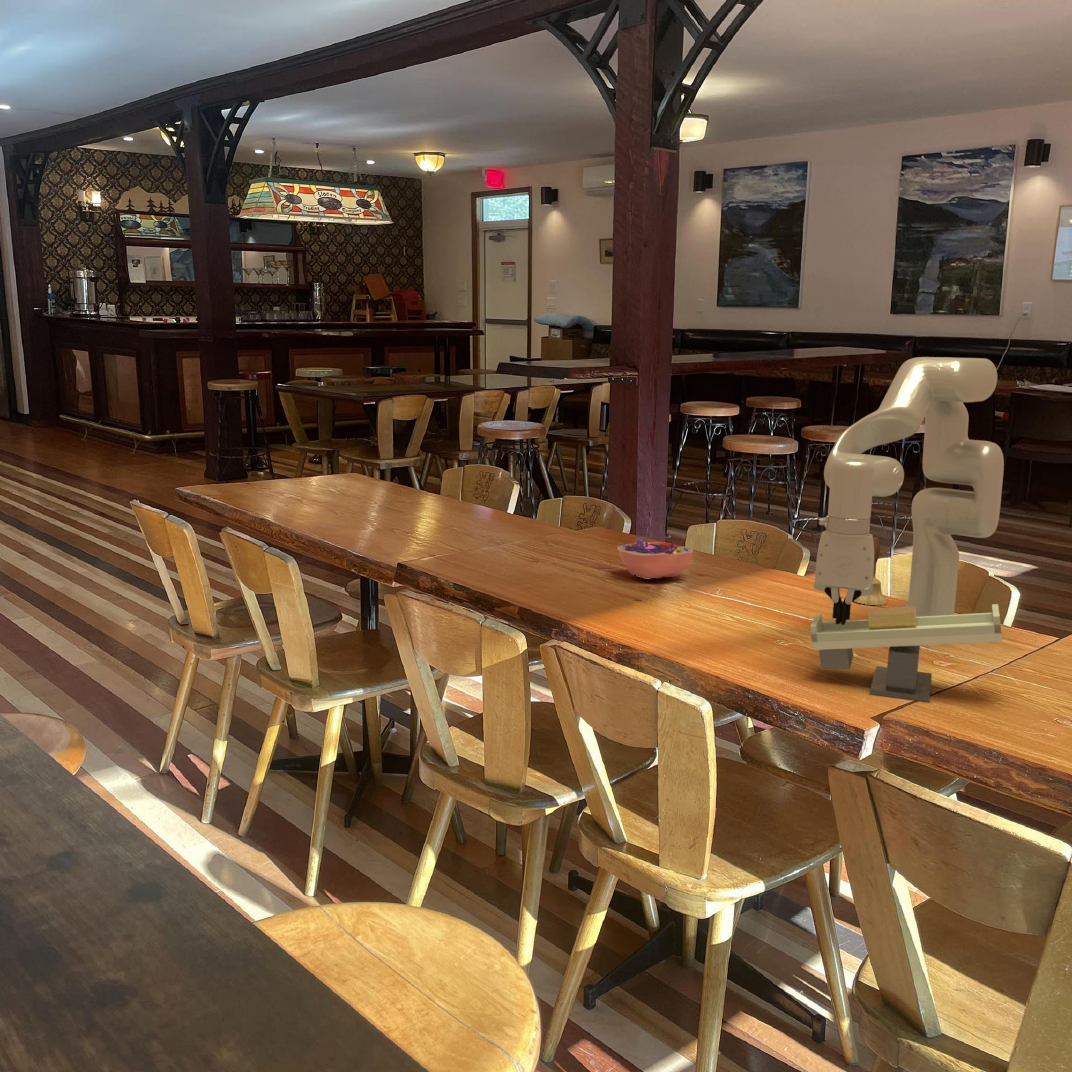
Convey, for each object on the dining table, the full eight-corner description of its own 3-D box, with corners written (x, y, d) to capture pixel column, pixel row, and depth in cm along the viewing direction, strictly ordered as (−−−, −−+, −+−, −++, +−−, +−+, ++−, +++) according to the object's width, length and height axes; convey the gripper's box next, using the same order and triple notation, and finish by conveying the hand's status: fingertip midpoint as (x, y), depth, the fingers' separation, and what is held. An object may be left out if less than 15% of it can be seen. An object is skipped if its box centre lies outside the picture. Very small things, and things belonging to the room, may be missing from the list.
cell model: (696, 587, 259) (698, 544, 257) (618, 585, 259) (619, 542, 257) (687, 572, 275) (689, 531, 273) (614, 570, 276) (616, 530, 273)
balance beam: (815, 670, 187) (810, 626, 186) (821, 657, 195) (816, 614, 194) (1004, 664, 174) (999, 616, 173) (1002, 649, 182) (997, 604, 181)
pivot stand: (870, 694, 181) (873, 651, 180) (875, 671, 194) (879, 631, 192) (929, 702, 177) (933, 658, 176) (931, 678, 190) (935, 637, 189)
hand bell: (879, 597, 250) (884, 534, 247) (892, 606, 242) (897, 541, 239) (846, 597, 250) (851, 534, 247) (858, 606, 242) (863, 541, 239)
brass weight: (870, 636, 184) (867, 615, 183) (872, 629, 188) (869, 608, 188) (916, 634, 181) (914, 612, 180) (917, 627, 185) (915, 606, 185)
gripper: (803, 525, 184) (797, 622, 187) (889, 533, 178) (881, 632, 181) (809, 519, 190) (802, 613, 194) (892, 526, 185) (884, 622, 188)
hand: (840, 622), depth 188 cm, fingers closed
